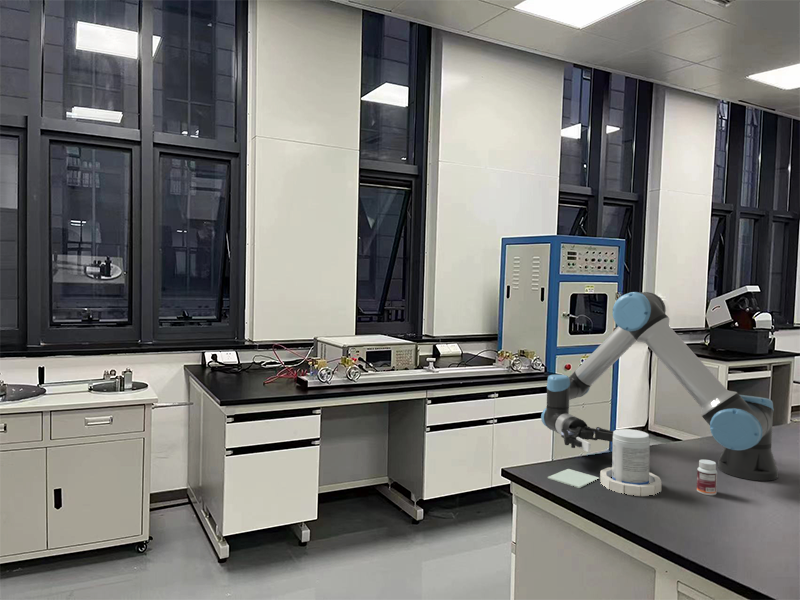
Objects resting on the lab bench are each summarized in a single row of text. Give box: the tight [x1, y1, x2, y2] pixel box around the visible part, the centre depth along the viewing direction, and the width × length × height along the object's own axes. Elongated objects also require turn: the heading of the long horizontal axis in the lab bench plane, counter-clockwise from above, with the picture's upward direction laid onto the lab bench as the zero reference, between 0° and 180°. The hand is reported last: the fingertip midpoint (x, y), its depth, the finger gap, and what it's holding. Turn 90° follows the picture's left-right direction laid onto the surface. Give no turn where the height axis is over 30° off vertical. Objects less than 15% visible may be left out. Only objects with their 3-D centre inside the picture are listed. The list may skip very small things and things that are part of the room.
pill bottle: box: [696, 459, 718, 496], centre depth 152 cm, size 5×5×8 cm
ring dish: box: [599, 466, 663, 497], centre depth 157 cm, size 16×16×2 cm
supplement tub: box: [611, 428, 651, 485], centre depth 156 cm, size 10×10×15 cm
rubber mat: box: [547, 468, 600, 489], centre depth 161 cm, size 10×11×1 cm
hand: (610, 446), depth 166 cm, fingers open, 13 cm apart
